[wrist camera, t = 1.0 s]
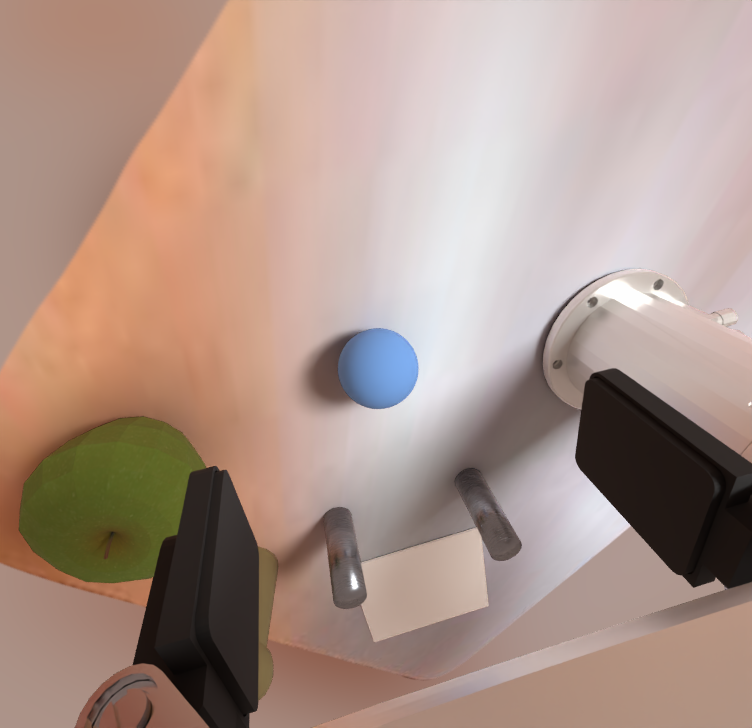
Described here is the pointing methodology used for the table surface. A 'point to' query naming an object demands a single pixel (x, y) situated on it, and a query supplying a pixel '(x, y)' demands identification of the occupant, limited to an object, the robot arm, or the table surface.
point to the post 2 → (487, 515)
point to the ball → (378, 368)
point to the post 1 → (344, 559)
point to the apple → (109, 499)
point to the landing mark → (424, 584)
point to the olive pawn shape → (265, 616)
